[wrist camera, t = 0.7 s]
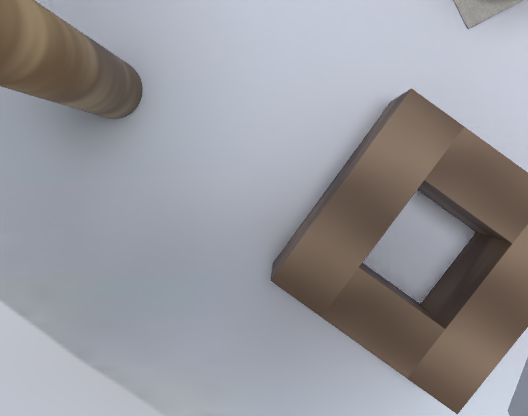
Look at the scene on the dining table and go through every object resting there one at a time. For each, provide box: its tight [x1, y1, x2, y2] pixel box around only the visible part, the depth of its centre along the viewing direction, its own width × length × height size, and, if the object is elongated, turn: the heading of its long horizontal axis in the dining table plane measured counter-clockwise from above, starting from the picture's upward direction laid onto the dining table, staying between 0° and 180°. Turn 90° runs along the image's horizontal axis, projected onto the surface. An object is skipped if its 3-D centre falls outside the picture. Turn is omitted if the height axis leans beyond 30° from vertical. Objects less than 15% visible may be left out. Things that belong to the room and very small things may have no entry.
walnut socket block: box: [271, 89, 528, 414], centre depth 26 cm, size 12×12×4 cm
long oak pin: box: [0, 0, 142, 119], centre depth 22 cm, size 4×4×14 cm
